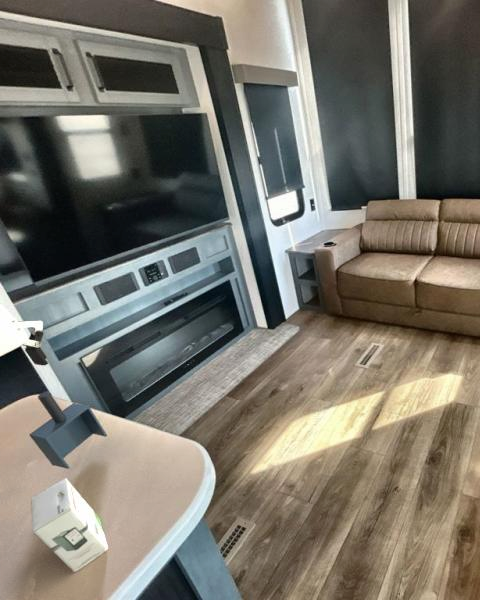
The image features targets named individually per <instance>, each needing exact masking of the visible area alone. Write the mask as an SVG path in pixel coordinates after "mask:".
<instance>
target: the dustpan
mask: <svg viewBox="0 0 480 600" xmlns="http://www.w3.org/2000/svg"><path fill="white" fill-rule="evenodd" d="M37 398H38V400H39V402H40V403H41V404H42V406H43V408H45V410H46V411H47V413H48V415H50V417H51V418H50V419H49V420H47V421H46V422H44V423H43V424H42V425H40V426H39V427H38V428H36V429H35V430H33V431H31V433H29V437H30V438H31V439H32V441H33V442H34V443H35V444H36V446H37V448H39V450H40V451H41V452H42V453H43V455H44V456H45V458H46V459H47V460H48V461H49V463H50V464H51V465H52V466H53V467H55V466H56V467H59V468H62V469H66V470H69V469H70V468H71V467H70V465H69V464H68V463H67V461H66V460H65V458H66V457H67V456H68V455H69V454H70V453H72V452H73V451H74V450H75V449H76V448H78V447H79V446H80V445H81V444H82V443H84V442H85V441H86V440H88V439H89V438H90V437H91V436H93V435H97V436H99V437H100V436H101V437H107V436H108V434H107V433H106V430H105V429H104V428H103V426H102V425H101V422H100V421H99V420H98V418H97V417H96V415H95V413H94V412H93V410H92V408H91V407H90V406H89V405H85V404H81V403H77V402H73V403H71V404H69V405H68V406H67V407H66V408H64V409H63V410H62V408H61V407H60V406H59V404H58V402H57V401H56V400H55V399H54V397H53V395H52V394H51V392H50V391H43V392H41V393H40V394H38V395H37Z"/></svg>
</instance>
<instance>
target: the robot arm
mask: <svg viewBox="0 0 480 600" xmlns="http://www.w3.org/2000/svg"><path fill="white" fill-rule="evenodd" d="M24 328H25V329H27V328H31V333H30V335H29V336H28V334H27V332H26V331H25V329H24ZM43 331H44V322H43V321H42V320H19V321H18V320H17V319H16V318H15V317H14V316H13V315H12V313H10V311H9V310H8V309H7V308H5V307H4V306H3V305H2V304H1V303H0V357H2V356H5V355H6V354H8V353H10V352H12V351H14V350H16V349H18V348H20V347H22V346H24V347H25V348H24V351H25V353H26V354H27V356H28V357H29V358H30V360H31V361H32V363H33V364H34V365H36V366H47V365H49V362H48V360H47V358H48V357H47V354H45V352H44V351H43V349H42V348H41V346H42V339H43V336H44V332H43Z"/></svg>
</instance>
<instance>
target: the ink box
mask: <svg viewBox="0 0 480 600" xmlns="http://www.w3.org/2000/svg"><path fill="white" fill-rule="evenodd" d="M30 503H31V504H30V505H31V525H32V526H31V527H32V533H33V534H34V535H36V537H37V538H39V539H40V541H42V542H43V543H44V544H45V545H46V546H47V547H48V548H49V549H50V550H51V551H52V552H53V553H54V554H55V555H56V556H57V557H58V558H59V559H60V560H61V561H62V562H63V563H64V564H65V565H66V566H67V567H68V568H69V569H70V570H71V571H72V572H73V573H76V572H78V571H80V570H81V569H83V568H84V567H85V566H87V565H88V564H90V563H91V562H92V561H94V560H95V559H97V558H98V557H100V556H102V555H103V554H104V553H105V552H107V551H108V549H109V546H108V541H107V539H106V535H105V532H104V529H103V525H102V522H101V518H100V517H99V516H98V515H97V513H96V512H95V511H94V509H93V508H92V507H91V506H90V505H89V503H88V502H87V501H86V500H85V499H84V498H83V496H82V495H81V494H80V493H79V492H78V490H76V488H75V487H74V486H73V484H71V482H70V481H69V480H68V478H67V477H65V478H63V479H61V480H60V481H57V482H56V483H54V484H53V485H51V486H49V487H47V488H45V489H43V490H42V491H40V492H38V493H37V494H35V495H33V496H32V497H30Z"/></svg>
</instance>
